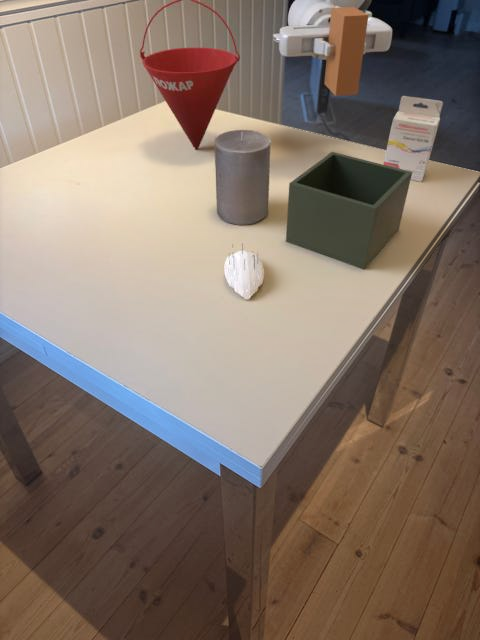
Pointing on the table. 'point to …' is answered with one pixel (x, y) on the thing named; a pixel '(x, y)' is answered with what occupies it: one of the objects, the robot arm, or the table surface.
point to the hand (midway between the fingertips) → (347, 50)
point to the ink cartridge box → (413, 136)
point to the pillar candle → (242, 176)
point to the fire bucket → (191, 81)
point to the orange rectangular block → (346, 50)
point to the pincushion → (244, 272)
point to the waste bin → (346, 208)
